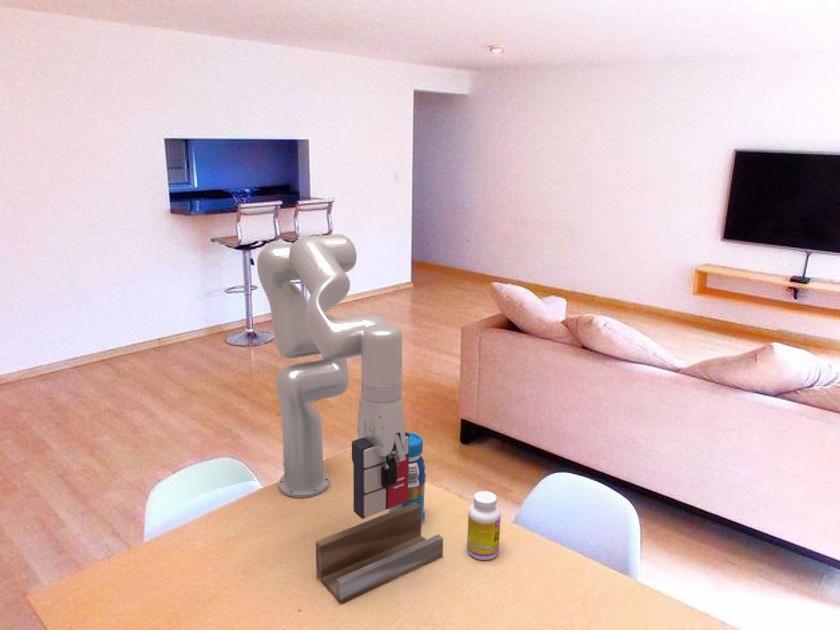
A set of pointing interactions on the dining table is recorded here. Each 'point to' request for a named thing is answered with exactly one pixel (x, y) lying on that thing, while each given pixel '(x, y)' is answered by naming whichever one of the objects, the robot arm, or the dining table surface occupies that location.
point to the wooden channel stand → (375, 553)
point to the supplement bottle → (483, 526)
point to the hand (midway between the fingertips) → (382, 479)
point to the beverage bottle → (415, 475)
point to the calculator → (376, 479)
